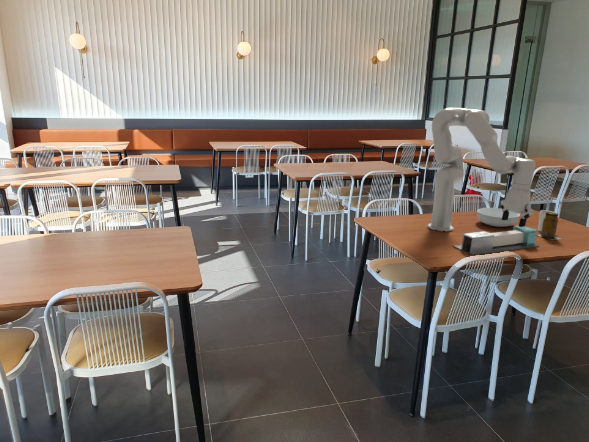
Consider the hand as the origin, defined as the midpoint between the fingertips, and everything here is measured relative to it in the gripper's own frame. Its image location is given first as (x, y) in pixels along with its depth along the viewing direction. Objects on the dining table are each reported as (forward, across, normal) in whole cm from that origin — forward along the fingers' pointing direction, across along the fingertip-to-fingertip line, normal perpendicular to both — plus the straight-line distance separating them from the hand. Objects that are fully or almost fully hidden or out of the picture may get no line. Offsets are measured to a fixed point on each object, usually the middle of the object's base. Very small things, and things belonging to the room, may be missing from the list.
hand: (512, 223), depth 199 cm
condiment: (+10, -2, +28) cm, 30 cm away
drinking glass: (+10, -11, +36) cm, 39 cm away
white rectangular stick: (+9, +1, -4) cm, 10 cm away
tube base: (+10, +1, -9) cm, 13 cm away
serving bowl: (+11, -27, +20) cm, 36 cm away
